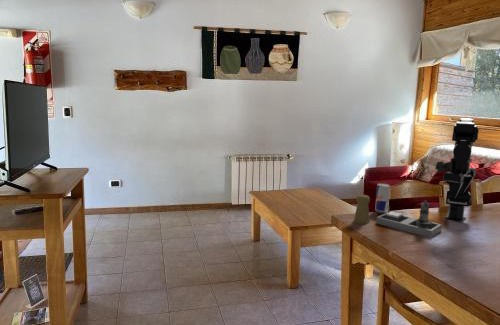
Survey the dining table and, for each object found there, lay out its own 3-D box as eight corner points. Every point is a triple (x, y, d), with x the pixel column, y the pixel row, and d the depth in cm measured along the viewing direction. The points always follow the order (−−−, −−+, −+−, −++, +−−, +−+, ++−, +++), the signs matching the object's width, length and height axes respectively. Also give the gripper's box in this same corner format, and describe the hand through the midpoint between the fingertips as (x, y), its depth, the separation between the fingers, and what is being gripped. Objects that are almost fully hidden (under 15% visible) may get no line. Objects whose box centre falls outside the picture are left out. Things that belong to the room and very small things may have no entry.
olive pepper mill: (372, 223, 164) (374, 196, 162) (359, 224, 162) (361, 197, 160) (363, 218, 170) (364, 192, 168) (350, 220, 168) (352, 194, 166)
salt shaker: (429, 228, 158) (432, 198, 156) (432, 233, 153) (435, 202, 150) (412, 227, 159) (415, 197, 157) (415, 232, 154) (418, 201, 152)
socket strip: (387, 218, 171) (388, 212, 170) (441, 231, 156) (441, 224, 156) (376, 223, 164) (376, 217, 163) (430, 237, 149) (431, 230, 149)
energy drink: (372, 210, 181) (374, 183, 179) (382, 209, 183) (384, 183, 181) (380, 214, 177) (382, 186, 174) (390, 212, 178) (392, 185, 176)
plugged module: (390, 220, 167) (391, 211, 166) (402, 223, 164) (403, 213, 163) (384, 223, 164) (385, 213, 163) (397, 226, 160) (397, 216, 160)
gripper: (448, 150, 166) (444, 188, 169) (430, 155, 153) (426, 196, 156) (478, 154, 159) (473, 193, 162) (462, 159, 146) (457, 202, 148)
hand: (457, 196), depth 157 cm, fingers open, 9 cm apart
